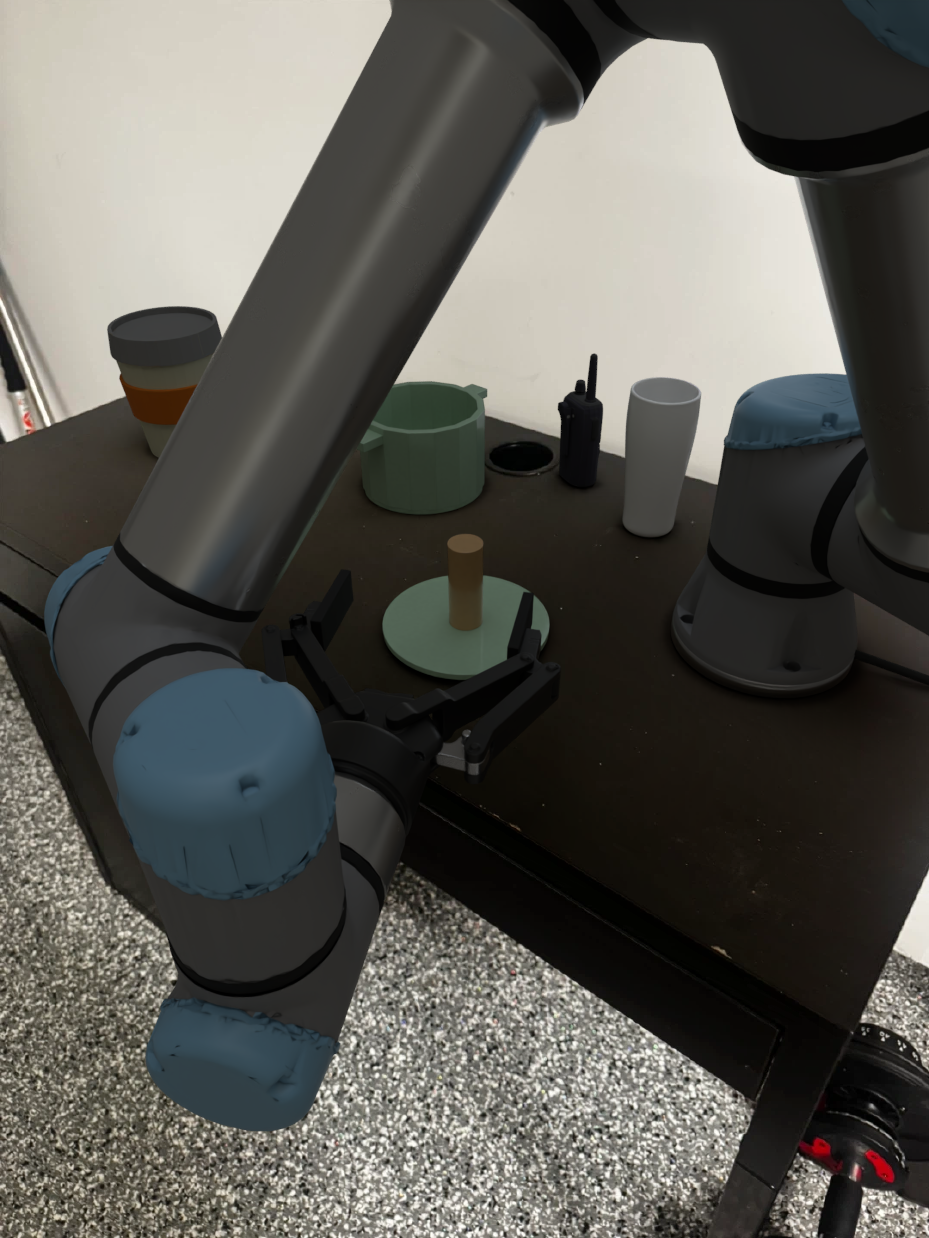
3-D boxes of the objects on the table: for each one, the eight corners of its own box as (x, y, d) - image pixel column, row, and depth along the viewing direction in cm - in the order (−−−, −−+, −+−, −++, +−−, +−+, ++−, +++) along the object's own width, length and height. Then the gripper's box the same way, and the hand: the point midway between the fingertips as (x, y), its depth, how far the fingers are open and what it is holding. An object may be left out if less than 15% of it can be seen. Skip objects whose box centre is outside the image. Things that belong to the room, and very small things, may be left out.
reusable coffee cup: (154, 422, 115) (127, 305, 106) (250, 423, 114) (231, 305, 105) (120, 467, 105) (86, 341, 96) (225, 468, 104) (201, 342, 95)
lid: (582, 627, 79) (590, 539, 73) (471, 711, 70) (471, 618, 65) (461, 566, 87) (460, 483, 81) (348, 635, 78) (339, 546, 73)
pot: (523, 474, 102) (526, 396, 97) (406, 538, 91) (401, 454, 86) (438, 440, 110) (436, 365, 104) (320, 495, 99) (311, 415, 93)
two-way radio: (602, 487, 100) (614, 356, 91) (567, 495, 98) (576, 363, 89) (577, 466, 104) (586, 340, 95) (543, 474, 102) (550, 346, 93)
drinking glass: (686, 543, 90) (709, 404, 81) (619, 544, 90) (635, 404, 81) (673, 510, 96) (694, 376, 87) (610, 510, 96) (624, 376, 87)
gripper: (147, 822, 53) (282, 615, 69) (566, 899, 48) (602, 658, 65) (117, 730, 48) (269, 533, 65) (576, 806, 44) (612, 573, 60)
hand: (436, 595), depth 65 cm, fingers open, 13 cm apart
